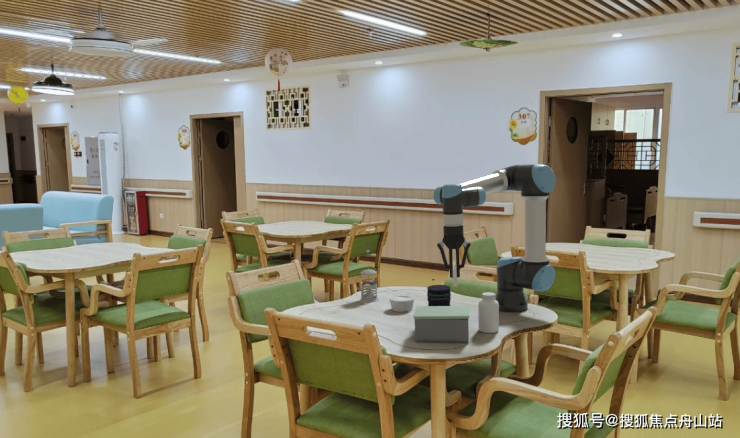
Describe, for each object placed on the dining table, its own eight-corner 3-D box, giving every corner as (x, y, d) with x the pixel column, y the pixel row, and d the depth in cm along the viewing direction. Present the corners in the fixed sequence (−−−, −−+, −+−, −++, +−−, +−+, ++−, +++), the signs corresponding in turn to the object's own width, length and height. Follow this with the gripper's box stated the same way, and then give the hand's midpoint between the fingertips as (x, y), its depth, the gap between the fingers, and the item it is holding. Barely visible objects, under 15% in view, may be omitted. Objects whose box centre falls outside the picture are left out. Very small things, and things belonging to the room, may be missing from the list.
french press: (379, 301, 285) (377, 251, 282) (355, 302, 284) (353, 252, 282) (379, 297, 294) (377, 248, 292) (356, 297, 294) (354, 248, 292)
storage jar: (456, 321, 247) (455, 279, 245) (441, 326, 240) (440, 283, 238) (437, 317, 254) (436, 276, 252) (423, 322, 247) (421, 280, 245)
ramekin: (414, 306, 275) (414, 295, 274) (414, 312, 264) (413, 301, 263) (390, 306, 276) (390, 295, 275) (389, 312, 265) (389, 301, 264)
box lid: (468, 308, 232) (468, 305, 232) (469, 318, 217) (468, 316, 217) (416, 308, 235) (416, 306, 235) (413, 318, 221) (413, 316, 221)
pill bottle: (499, 333, 228) (498, 296, 227) (478, 333, 230) (477, 296, 228) (498, 327, 236) (498, 291, 234) (478, 327, 238) (478, 291, 236)
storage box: (468, 331, 232) (468, 309, 231) (468, 343, 219) (468, 319, 218) (418, 331, 236) (417, 309, 235) (415, 342, 222) (414, 319, 221)
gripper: (470, 223, 224) (472, 283, 227) (436, 224, 226) (438, 283, 229) (470, 225, 217) (472, 287, 220) (435, 226, 219) (437, 288, 222)
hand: (455, 285), depth 224 cm, fingers closed
